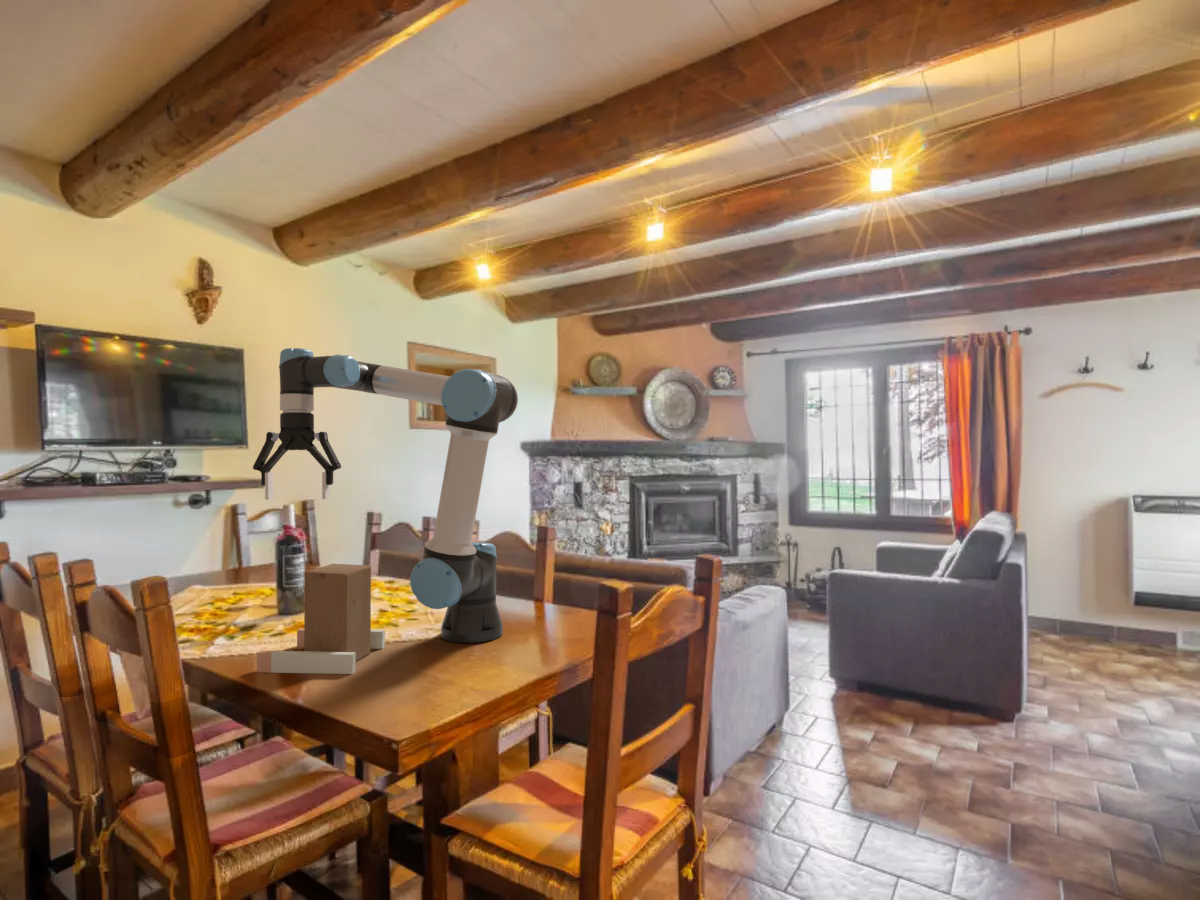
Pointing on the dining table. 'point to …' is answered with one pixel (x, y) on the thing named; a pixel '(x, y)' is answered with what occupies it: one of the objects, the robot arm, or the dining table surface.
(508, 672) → the dining table surface
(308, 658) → the white bars
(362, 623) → the wooden block
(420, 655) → the dining table surface
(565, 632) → the dining table surface
